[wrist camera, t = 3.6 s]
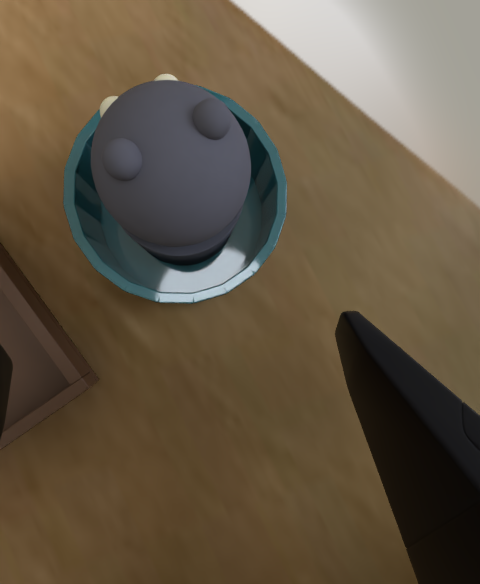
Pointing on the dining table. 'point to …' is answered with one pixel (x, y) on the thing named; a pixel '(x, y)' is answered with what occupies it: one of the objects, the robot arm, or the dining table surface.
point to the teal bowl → (160, 275)
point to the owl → (171, 168)
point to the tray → (35, 355)
